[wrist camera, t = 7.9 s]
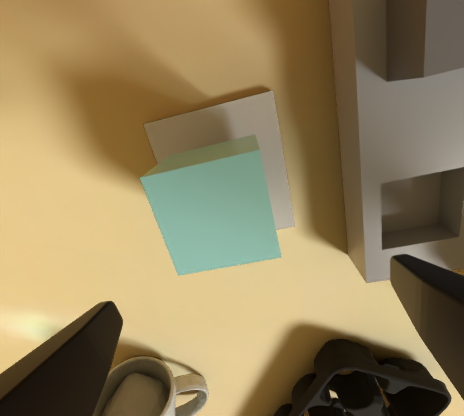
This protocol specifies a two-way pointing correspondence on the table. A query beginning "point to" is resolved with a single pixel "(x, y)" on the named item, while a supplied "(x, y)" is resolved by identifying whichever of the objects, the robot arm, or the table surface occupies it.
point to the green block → (213, 206)
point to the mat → (228, 128)
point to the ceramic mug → (148, 390)
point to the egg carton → (365, 386)
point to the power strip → (400, 129)
